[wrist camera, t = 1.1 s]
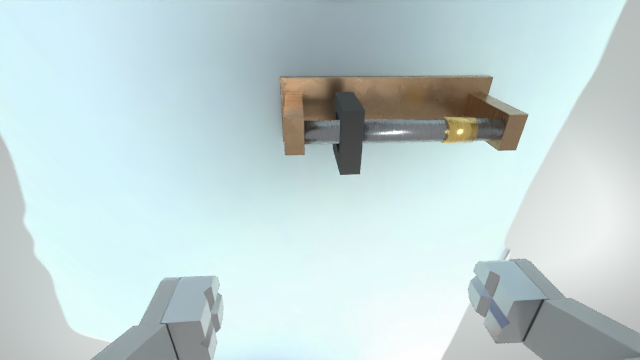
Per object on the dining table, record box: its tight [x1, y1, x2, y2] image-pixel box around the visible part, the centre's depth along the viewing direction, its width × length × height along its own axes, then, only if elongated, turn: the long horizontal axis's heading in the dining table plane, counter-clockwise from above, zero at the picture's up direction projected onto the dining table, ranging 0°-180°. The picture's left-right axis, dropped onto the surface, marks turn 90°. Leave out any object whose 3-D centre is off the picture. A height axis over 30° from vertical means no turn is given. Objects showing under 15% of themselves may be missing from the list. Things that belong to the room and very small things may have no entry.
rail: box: [280, 76, 528, 155], centre depth 36 cm, size 26×8×9 cm, turn 90°
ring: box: [333, 92, 365, 175], centre depth 32 cm, size 2×7×7 cm, turn 0°
